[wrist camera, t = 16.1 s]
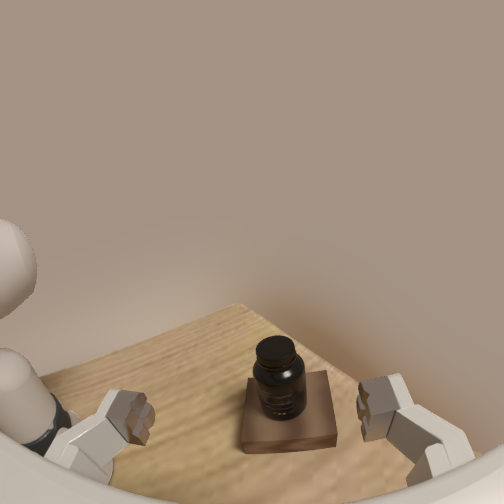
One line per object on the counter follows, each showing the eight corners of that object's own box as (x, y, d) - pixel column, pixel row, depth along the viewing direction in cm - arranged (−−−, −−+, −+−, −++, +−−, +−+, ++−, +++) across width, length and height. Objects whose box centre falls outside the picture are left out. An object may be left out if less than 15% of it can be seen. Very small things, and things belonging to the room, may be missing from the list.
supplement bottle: (265, 387, 41) (253, 329, 37) (308, 388, 39) (305, 328, 35) (257, 421, 34) (241, 364, 30) (305, 423, 33) (301, 365, 29)
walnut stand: (245, 453, 33) (240, 441, 31) (251, 392, 45) (248, 377, 43) (335, 446, 31) (337, 433, 30) (326, 385, 43) (326, 370, 42)
